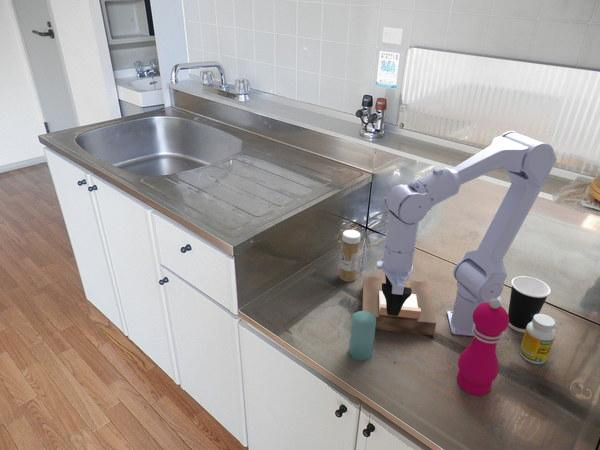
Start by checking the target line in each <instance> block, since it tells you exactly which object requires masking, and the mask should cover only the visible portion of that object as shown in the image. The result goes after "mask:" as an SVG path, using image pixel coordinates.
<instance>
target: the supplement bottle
mask: <svg viewBox="0 0 600 450" xmlns="http://www.w3.org/2000/svg"><path fill="white" fill-rule="evenodd" d="M555 326H556V321H555V319H554V317H551V316H550V315H547V314H546V313H545V314H544V313H539V314H536V315H534V317H533V320H532V322H530V323H529V324H528V325H527V327H526V330H525V332H524V333H523V338H522V341H521V344H520V347H519V354H520V356H521V357H522V359H524V360H525V361H526V362H527V361H528V362H529V363H531V364H535V365H536V364H537V365H541V364H544V363H546V362H547V360H548V357H549V355H550V352H551V349H552V347H553V343H554V341H555V339H556V338H555V337H556V330H555V329H554V328H555Z"/></svg>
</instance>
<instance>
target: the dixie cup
mask: <svg viewBox="0 0 600 450" xmlns="http://www.w3.org/2000/svg"><path fill="white" fill-rule="evenodd" d="M510 281H511V283H510V284H511V289H510V290H511V291H510V298H509V305H508V312H507V314H508V316H509V324H508V326H509V328H511V329H513V330H514V331H516V332H520V333H525V330H526V327H527V325H528V324H529V323H530V322H532V320H533V317H534V315H536V314H541V313H540V312H541V311H542V308H543V307H544V304H545V302H546V300H547V298H548V296H550V294H551V292H552V290H551V288H550V286H549V285H548V284H547V283H546V282H544V281H542V280H541V279H538V278H536V277H533V276H532V277H531V276H526V275H520V276H515V277H514V278H513V277H512V279H511V280H510Z"/></svg>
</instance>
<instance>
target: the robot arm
mask: <svg viewBox="0 0 600 450" xmlns="http://www.w3.org/2000/svg"><path fill="white" fill-rule="evenodd" d="M556 162H557V157H556V153H555V150H554V148H553V146H552V145H551V144H549V143H546V142H542V141H540V140H536V139H533V138H531V137H528V136H526V135H523V134H520V133H518V131H514V130H508V131H506V132H504V133H502V134H501V135H500V136H496V137H494V138H493V139H492V141H491V143H490V145H489V146H487V147H485V148H483V149H482V150H480V151H479V152H477V153H476V154H474V155H472V156H470V157H469V158H467V159H465V160H464V161H462V162H461V163H459V164H457V165H456V166H454V167H452V168H449V167H446V166H441V167H439V166H437V167H434V168H433V169H432V171H431V172H429V173H428V174H425V175H423V176H422V177H420V178H418V179H417V180H412V181H410V183H409V184H406V183H405V184H403V183H402V184H397V185H395V186H392V188H390V190H389V191H388V192H387V195H386V197H383V204H384V207H385V208H386V210H387V223H386V231H385V240H384V249H383V258H382V260H378V261H376V269H378V270H382V272H383V274H384V278H386V283H382V292H383V294H384V296H385V299H386V309H387V314H388V315H392V316H398V315H399V313H400V310H401V308H402V306H403V304H404V302H405V301H406V299H407V298H408V297H410V295H411V293H412V290H411V288H408V287H404V285H405V283H406V281H407V280H408V281H409V278H410V276H411V275H412V273H413V270H414V266H413V263H414V255H415V250H416V244H417V237H418V231H419V223H420V222H421V221H422V220H424V218H425V216H426V215H427V213H428V212H429V211H431V210H432V208H434V207H435V206H437V205H439V204H440V203H442V202H444V201H446V200H447V199H450V198H451V197H454V196H456V195H457V194H458V193H459V191H460V188H461V186H462V185H464V184H467V183H468V182H470V181H473V180H475V179H477V178H479V177H482V176H484V175H486V174H489V173H490V172H491V173H492V172H494V171H496V170H503V171H507V174H508V176H509V179H510V182H511V183H510V186H509V188H508V189H507V191H506V193H505V195H504V197H503V199H502V201H501V203H500V205H499V207H498V209H497V211H496V213H495V214H494V216H493V217H492V220H491V222H490V223H489V225H488V228H487V230H486V232H485V234H484V236H483V238H482V239H481V241H480V244H479V245H478V247H477V249H473V250H469V251H466V252H465V254H464V255H463V257H462V259H461V260H459V261H458V263H457V264H455V267H454V269H453V277H454V279H455V280H456V287H457V291H456V295H455V299H454V305H453V309H452V310H447V311H446V315H447V319H448V323H449V328H450V331H451V332H450V333H451V334H452V335H460V336H466V337H467V336H469V337H473V336H474V335H473V333H472V329H473V325H474V322H473V313H474V310H475V309H476V307H477V306H479V305H480V304H482V303H486V302H489V301H490V300H491V299H494V298H495V299H497V300H499V302H500V306H501V307H502V305H503V303H502V297H501V295H502V293H503V291H504V285H505V282H506V279H507V277H508V272H507V269H506V267H505V264H504V258H505V256H506V254H507V253H508V251H509V249H510V248H511V246H512V243H513V242H514V240H515V238H516V236H517V234H518V233H519V231H520V229H521V227H522V225H523V224H524V222H525V220H526V218H527V217H528V215H529V213H530V211H531V209H532V207H533V206H534V204H535V202H536V200H537V198H538V196H539V195H540V193H541V191H542V189H543V187H544V185H545V182H546V180H547V179H548V177H549V175H550V173H551V171H552V169H553V168H554V165H555V164H556Z"/></svg>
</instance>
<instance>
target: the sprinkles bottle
mask: <svg viewBox="0 0 600 450" xmlns="http://www.w3.org/2000/svg"><path fill="white" fill-rule="evenodd" d="M341 236H342V237H341V239H342V247H341V255H340V256H341V257H340V271H339V279H340V280H342V281H343V282H349V283H350V282H354V281H355V280H357V268H358V260H359V252H360V251H359V250H360V249H359V247H360V242H361V233H360V232H359V231H358V230H355V229H345V230H344V231H343V232H342V235H341Z"/></svg>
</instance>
